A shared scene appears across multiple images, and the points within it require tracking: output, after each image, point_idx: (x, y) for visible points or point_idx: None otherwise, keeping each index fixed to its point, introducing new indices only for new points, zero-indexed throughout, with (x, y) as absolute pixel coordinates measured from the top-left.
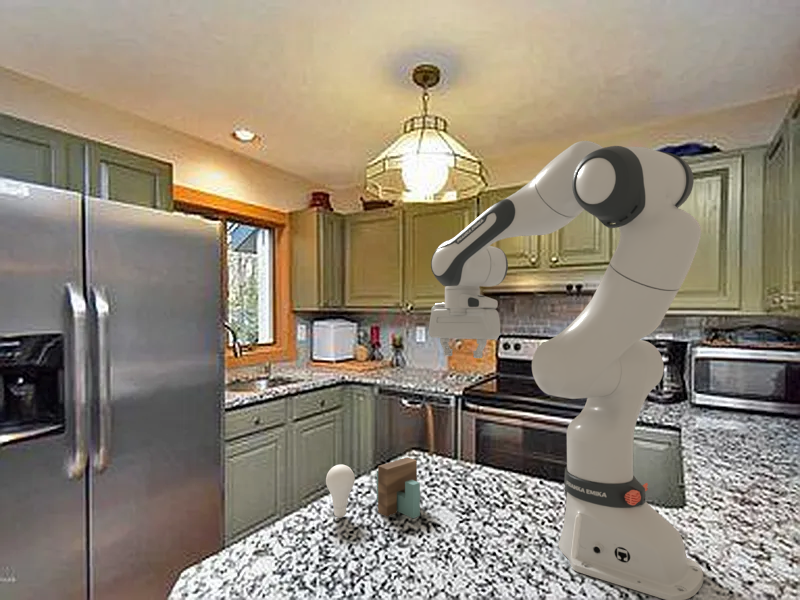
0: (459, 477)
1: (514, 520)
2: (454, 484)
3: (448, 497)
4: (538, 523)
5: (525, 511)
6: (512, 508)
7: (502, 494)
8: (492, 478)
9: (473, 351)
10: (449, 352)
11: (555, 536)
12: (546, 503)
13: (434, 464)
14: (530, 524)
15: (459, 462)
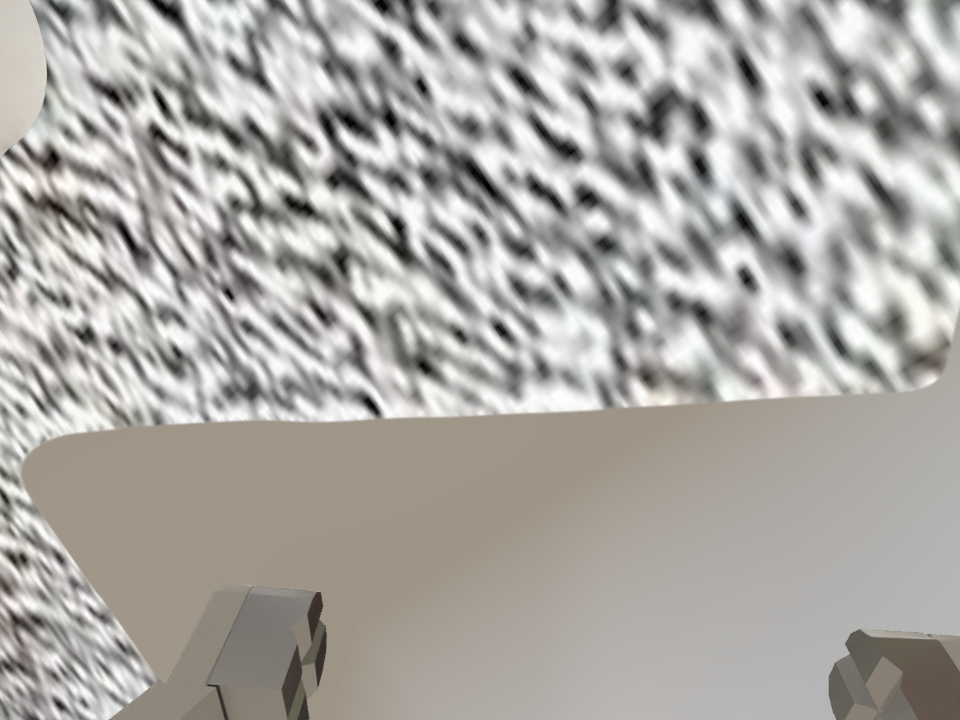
0: (617, 264)
1: (228, 45)
2: (592, 187)
3: (533, 47)
4: (165, 86)
5: (254, 147)
6: (298, 137)
7: (398, 226)
8: (512, 335)
9: (282, 674)
10: (883, 706)
11: (68, 30)
12: (253, 258)
13: (785, 319)
14: (175, 57)
15: (705, 398)
